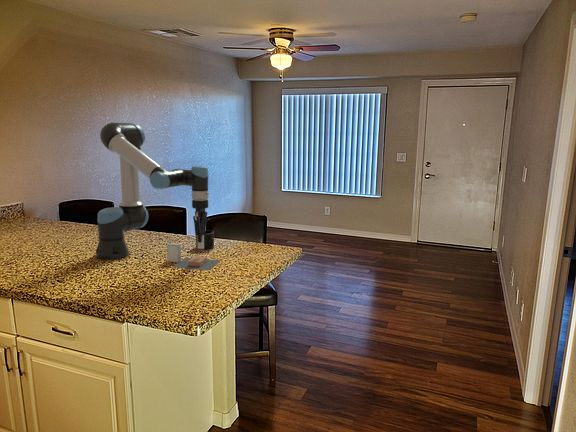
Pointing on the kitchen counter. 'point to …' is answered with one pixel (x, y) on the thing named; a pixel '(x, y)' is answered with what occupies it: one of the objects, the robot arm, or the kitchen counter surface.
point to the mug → (207, 240)
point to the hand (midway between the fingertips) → (200, 248)
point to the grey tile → (174, 252)
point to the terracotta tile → (197, 261)
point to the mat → (206, 266)
